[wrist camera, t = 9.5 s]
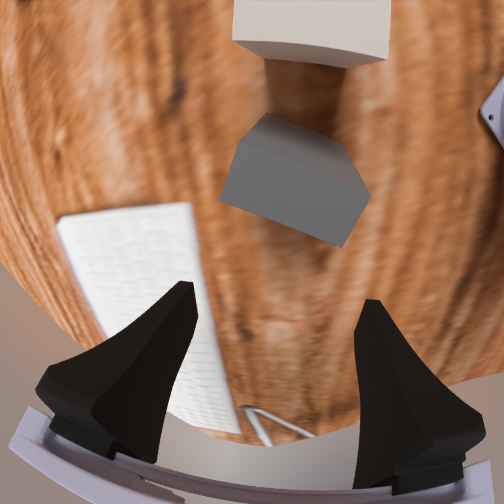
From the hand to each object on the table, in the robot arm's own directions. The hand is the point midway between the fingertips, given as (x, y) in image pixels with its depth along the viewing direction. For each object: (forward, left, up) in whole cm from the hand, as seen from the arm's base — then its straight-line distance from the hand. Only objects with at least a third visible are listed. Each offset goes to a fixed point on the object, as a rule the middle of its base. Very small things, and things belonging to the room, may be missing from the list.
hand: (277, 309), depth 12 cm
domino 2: (+2, -4, -10) cm, 11 cm away
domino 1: (+5, -10, -10) cm, 15 cm away
